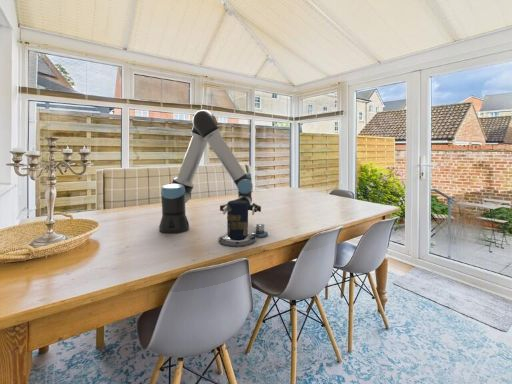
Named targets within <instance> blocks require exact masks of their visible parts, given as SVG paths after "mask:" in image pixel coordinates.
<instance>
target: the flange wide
mask: <svg viewBox="0 0 512 384" xmlns="http://www.w3.org/2000/svg"><path fill="white" fill-rule="evenodd" d="M217 239H218V241H217V242H218V244H220V245H222V246H225V247H231V248H242V247H248V246H251V245H253V244H255V243H256V237H254V236H252V234H249V233H248V236H247V237H246V238H244V239H232V238H229V237H228V235H227V233H226V234H223V235H220V236H219V237H218V238H217Z"/></svg>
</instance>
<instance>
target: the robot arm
mask: <svg viewBox="0 0 512 384" xmlns="http://www.w3.org/2000/svg"><path fill="white" fill-rule="evenodd" d="M190 134H191V136H192V137H191V139H190V140H189V141H190V142H189V145H188V148H187V150H186V152H185V156H184V158H183V160H182V163H181V166H180V169H179V172H178V174H177V176H176V177H174V178H173V179H172V182H171V183H169V184H164V185H162V187H161V189H160V190H161V191H160V195H161V213H162V214H161V219H160V221H159V225H158V226H159V227H158V231H159V232H161V233H164V234H177V233H183V232H186V231H189V230H190V223H189V220H188V218H187V215H186V203H188V202H189V200H190V199H191V197H192V192H193V188H194V184H193V182H194V179H195V176H196V173H197V171H198V167H199V165H200V162H201V161H202V157H203V155H204V152H205V150H206V147H207V144H208V145H209V146H210V148H211V149H212V151H213V153H214V154H215V156H216V157H217V159H218V160H219V161H220V163H221V164H222V166H223V167H224V169H225V171H226V172H227V173H228V175H229V176H230V178H231V180H232V181H233V183H234V184H235V186H236V188H237V195H238V196H237V197H238V198H237V199H241V200H244V201H247V202H248V211H252V212H251V215H252V216H254V215H255V213H257V212H260V213H261V212H262V206H261V205H259V204H257V203H256V202H253V197H252V189H253V183H252V174H251V172H245V171H244V169H243V167H242V166H241V164H240V163H239V161H238V160H237V158H236V157H235V155H234V153H233V151H232V150H231V148H230V147H229V145H228V144H227V142H226V140H225V139H224V137H223V136H222V135H221V133H220V127H219V126H218V121H217V118H216V116H215V115H214V114H213V113H212V112H211V111H210V110H209V111H208V110H205V109H200V110H198V111H196V112H195V113H194V115H193V116H192V129H191V131H190ZM252 202H253V203H252ZM227 204H228V203H225V204H221V205H219V211H220V212H222V214H223V215H227V214H226V213H227Z"/></svg>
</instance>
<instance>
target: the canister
mask: <svg viewBox="0 0 512 384" xmlns="http://www.w3.org/2000/svg"><path fill="white" fill-rule="evenodd" d="M226 204H227V212H226V213H227V214H226V221H227V222H226V223H227V227H226V229H227V233H226V234H227V235H228V237H229V238H232V239H244V238H246V237H247V236H248V234H249V231H248V230H249V210H248V202H247V201H244V200H241V199H238V198H236V199H234V200H228V202H227V203H226Z"/></svg>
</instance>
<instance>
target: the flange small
mask: <svg viewBox="0 0 512 384" xmlns="http://www.w3.org/2000/svg"><path fill="white" fill-rule="evenodd" d="M251 235H252V236H254V237H255V238H257V239H259V238H262V239H263V238H267V237H269V233H268V231H265V224H264V223H256V224H255V230H254V231H252V232H251Z"/></svg>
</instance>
